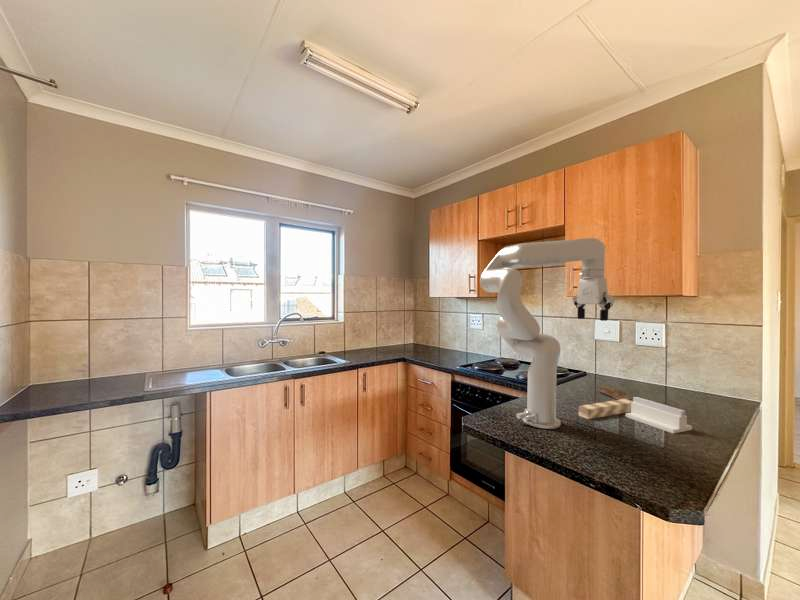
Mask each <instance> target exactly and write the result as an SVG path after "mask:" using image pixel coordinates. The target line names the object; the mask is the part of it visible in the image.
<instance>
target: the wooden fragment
mask: <svg viewBox="0 0 800 600" xmlns="http://www.w3.org/2000/svg"><path fill="white" fill-rule="evenodd" d="M604 386H605V387H604ZM608 387H609V388H608ZM599 393H601V394H604V395H606V396H608V397H610V398H613V399H616V400H621V399H627V400H631V401H633V398H630V397H629V396H627V395H626V392H624V391H621V390H620V389H618V388H616V387H611V386H607V385H603V386H602V385H601V386H600V389H599Z"/></svg>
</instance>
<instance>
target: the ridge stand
mask: <svg viewBox="0 0 800 600" xmlns="http://www.w3.org/2000/svg"><path fill="white" fill-rule="evenodd" d="M632 401H633V402H631V412H626V413H625V415H624V416H625V417H626V418H629V419H631V420H634V421H637V422H640V423H642V424H645V425H648V426H651V427H654V428H657V429H659V430H662V431H666V432H668V433H670V434H678V433H683V432H687V431H692V430H693V425H690V424H688V423H687V422H688V415H686V410H683V409H680V408H677V407H674V406H670V405H667V404H664V403H660V402H656V401H654V400H650V399H646V398H642V397H639V396H633V397H632Z"/></svg>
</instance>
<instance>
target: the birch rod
mask: <svg viewBox="0 0 800 600" xmlns="http://www.w3.org/2000/svg"><path fill="white" fill-rule="evenodd" d="M631 402H633V400H627V399H621V400H618V399H616V400H608V401H602V402H596V403H595V402H594V403H591V404H583V405H578V416H579V417H581V418H584V419H587V420H591V419H597V418H601V417H602V418H603V417H607V416H614V415H615V416H616V415H619V414H626V413H631Z"/></svg>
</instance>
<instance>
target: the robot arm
mask: <svg viewBox="0 0 800 600" xmlns="http://www.w3.org/2000/svg"><path fill="white" fill-rule="evenodd" d="M605 256H606V245H605V243H604V242H602V241H601V240H600V239H599V238H596V237H589V238H588V237H587V238H586V237H585V238H575V239H564V240H549V241H548V240H547V241H537V242H524V243H517V244H513V245H509V246H505V247H502V249H501V250H499V251H498V252H497V254H495V256H494V257H493V258H492V260H490V262H489V263H488V265H487V266H486V267H485V269H484V270H483V272H482V273H481V275H480V277H479V278H480V279H479V285H480V287H481V289H482V290H484V291H485V292H487V293H490V294H495V293H496V294H497V299H496V311H497V313H498V315H499V317H498V319H497V322H496V323H497V324H496V327H497V332H498V333H499V335H500V336H501V337H502V339H503V340H504V341H505V342H506V343H507V345H508V346H509V347H510V348H511V349H512V350H513V351H514V352H515V353H516V354H517V355H519V356H522V357H525V358H528V359H531V360H532V361H531V363H530V365H529V367H528V369H527V393H526V394H527V395H526V396H527V397H526V399H527V400H526V401H527V402H526V403H527V405H526V406H527V407H525V408H524V411H523V412H517V413H515V415H516V418H517V420H522V421H523V422H524V423H525V424H527V425H529V426H532V427H534V428H538V429H547V430H552V429H558V428H560V427H561V420H560V419H559V418H557V379H558V377H557V376H558V373H557V372H558V365H559V364H558V363H559V358H560V355H561V345H560V342H559V340H557V339H556V338H555V337H554V336H552V335H549V334H544V333H541V326H540V324H539V322H538V321H537V319H536V318H535V317H534V316H533V315H532V313H531V312H530V311H529V310H528V308H526V306H525V305H524V303H523V301H522V299H521V290H522V285H523V276H522V274H521V272H520V271H519V269H523V268H524V269H526V268H533V267H534V268H536V267H543V266H545V267H547V266H553V265H555V266H556V265H560V264H565V263H571V262H579V261H580V262H581V272H580V273H579V275H580V277H581V278H580V279H579V281H578V285H577V289H576V290H577V291H576V295H574V296H572V298H571V299H572V301H573V305H574V306H575V309H577V316H576V317H577V319H579V320H584V319H585V318H586V315H585V313H586V309H585V307H586V305H599V307H600V310H599V320H600V321H604V322H605V321H608V320H609V310H610V309H611V307H613V306H614V303H615V302H616V297H615V296H612V295H611V294H609V291H608V290H609V289H608V283H607V279H606V278H605V266H606V265H605V264H606V263H605V261H606V257H605Z"/></svg>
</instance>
